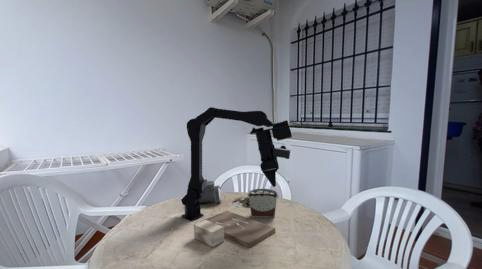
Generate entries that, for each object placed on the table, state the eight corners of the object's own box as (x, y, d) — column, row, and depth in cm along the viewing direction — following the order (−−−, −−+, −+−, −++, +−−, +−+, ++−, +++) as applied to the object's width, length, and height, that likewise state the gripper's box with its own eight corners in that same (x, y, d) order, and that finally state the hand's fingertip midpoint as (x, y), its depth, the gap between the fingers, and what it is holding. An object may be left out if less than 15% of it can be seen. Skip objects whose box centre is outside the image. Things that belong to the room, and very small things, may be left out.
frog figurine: (263, 204, 112) (263, 196, 112) (243, 210, 105) (243, 202, 105) (248, 198, 121) (248, 190, 121) (228, 203, 114) (228, 195, 114)
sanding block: (194, 239, 80) (193, 224, 79) (205, 233, 83) (205, 219, 83) (212, 248, 74) (212, 232, 73) (224, 242, 77) (224, 227, 77)
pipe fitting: (222, 198, 118) (219, 178, 117) (221, 205, 110) (218, 184, 109) (198, 201, 119) (195, 181, 117) (195, 208, 111) (192, 187, 109)
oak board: (200, 225, 90) (200, 221, 89) (227, 214, 100) (227, 210, 100) (249, 248, 73) (249, 243, 73) (275, 232, 84) (275, 227, 84)
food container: (277, 211, 102) (277, 188, 102) (278, 217, 96) (278, 192, 96) (248, 210, 103) (248, 187, 103) (247, 216, 97) (247, 192, 97)
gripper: (288, 140, 81) (298, 185, 81) (284, 137, 99) (292, 173, 100) (256, 147, 82) (265, 191, 83) (258, 142, 101) (266, 179, 101)
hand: (274, 183), depth 92 cm, fingers open, 9 cm apart
